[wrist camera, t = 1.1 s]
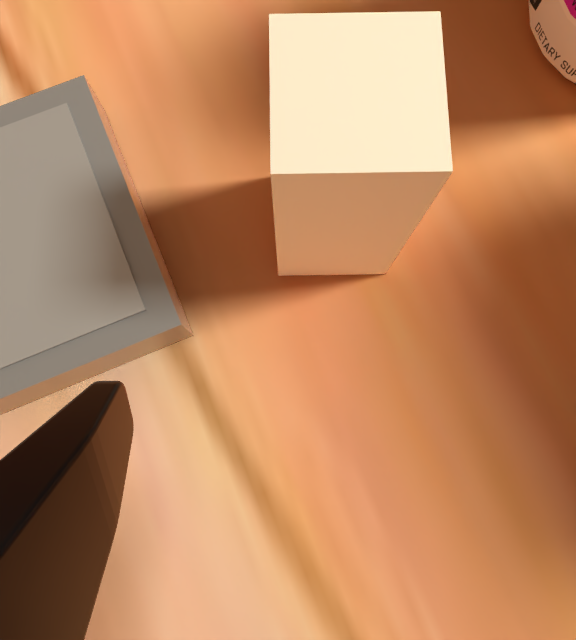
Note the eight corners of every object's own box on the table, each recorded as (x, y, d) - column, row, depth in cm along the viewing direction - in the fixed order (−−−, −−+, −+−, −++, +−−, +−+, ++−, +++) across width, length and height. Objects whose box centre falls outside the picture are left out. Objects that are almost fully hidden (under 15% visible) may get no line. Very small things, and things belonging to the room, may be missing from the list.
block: (385, 274, 23) (452, 171, 13) (278, 275, 23) (270, 174, 13) (380, 174, 23) (440, 11, 14) (277, 175, 23) (268, 13, 14)
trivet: (193, 335, 22) (180, 323, 20) (-66, 441, 21) (-115, 444, 19) (104, 110, 24) (82, 72, 21) (-136, 201, 23) (-190, 173, 21)
